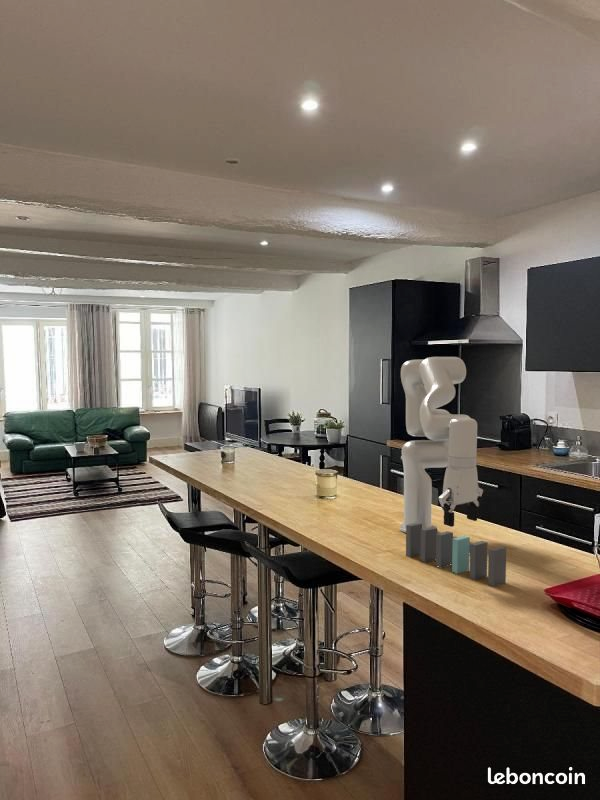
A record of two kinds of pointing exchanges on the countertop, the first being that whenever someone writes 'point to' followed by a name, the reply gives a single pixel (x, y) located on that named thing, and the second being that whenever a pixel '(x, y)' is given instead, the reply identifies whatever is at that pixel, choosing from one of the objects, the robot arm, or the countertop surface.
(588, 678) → the countertop surface
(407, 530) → the tile
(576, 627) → the countertop surface
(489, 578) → the tile
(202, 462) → the countertop surface
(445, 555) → the tile
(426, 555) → the tile
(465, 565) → the tile
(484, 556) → the tile
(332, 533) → the countertop surface
